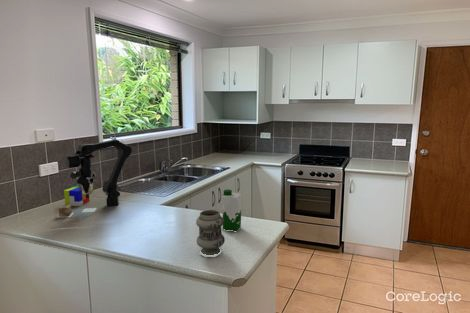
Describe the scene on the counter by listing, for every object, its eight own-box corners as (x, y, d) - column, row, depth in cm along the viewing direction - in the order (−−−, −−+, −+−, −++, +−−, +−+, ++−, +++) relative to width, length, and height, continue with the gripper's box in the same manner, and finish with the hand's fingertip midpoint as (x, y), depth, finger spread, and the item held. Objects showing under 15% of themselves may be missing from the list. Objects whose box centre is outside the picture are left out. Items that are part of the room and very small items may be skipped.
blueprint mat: (97, 208, 203) (97, 207, 203) (90, 217, 189) (90, 215, 188) (64, 210, 200) (64, 209, 200) (55, 218, 186) (55, 217, 186)
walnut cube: (71, 213, 193) (71, 205, 192) (68, 216, 188) (68, 207, 187) (62, 213, 192) (61, 205, 191) (59, 216, 187) (58, 208, 186)
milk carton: (226, 224, 176) (226, 187, 173) (243, 227, 173) (243, 189, 170) (220, 231, 168) (219, 192, 165) (237, 233, 165) (237, 194, 161)
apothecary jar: (203, 245, 151) (202, 206, 148) (228, 248, 148) (228, 209, 145) (192, 257, 140) (191, 215, 137) (219, 260, 136) (218, 218, 134)
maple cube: (93, 191, 200) (92, 183, 199) (91, 194, 195) (90, 185, 194) (84, 192, 199) (83, 183, 198) (82, 194, 194) (81, 185, 193)
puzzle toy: (79, 207, 207) (78, 191, 205) (65, 206, 209) (64, 190, 207) (89, 202, 216) (88, 187, 215) (75, 201, 218) (74, 186, 217)
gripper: (75, 163, 202) (77, 188, 205) (65, 169, 184) (68, 197, 186) (95, 162, 204) (97, 187, 206) (87, 168, 186) (89, 196, 188)
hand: (87, 192), depth 197 cm, fingers closed on maple cube, 5 cm apart
